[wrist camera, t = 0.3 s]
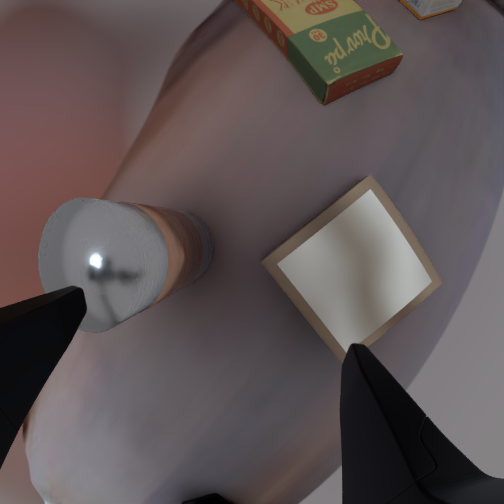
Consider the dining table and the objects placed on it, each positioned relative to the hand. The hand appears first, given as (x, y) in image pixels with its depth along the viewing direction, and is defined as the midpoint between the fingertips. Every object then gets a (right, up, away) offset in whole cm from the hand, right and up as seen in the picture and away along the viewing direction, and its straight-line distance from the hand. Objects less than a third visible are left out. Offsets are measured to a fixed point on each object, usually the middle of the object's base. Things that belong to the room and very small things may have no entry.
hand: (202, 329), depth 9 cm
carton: (+7, +23, +13) cm, 28 cm away
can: (-5, +3, +16) cm, 16 cm away
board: (+9, +1, +14) cm, 17 cm away
